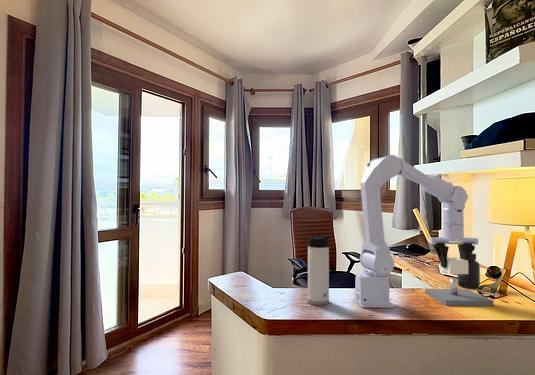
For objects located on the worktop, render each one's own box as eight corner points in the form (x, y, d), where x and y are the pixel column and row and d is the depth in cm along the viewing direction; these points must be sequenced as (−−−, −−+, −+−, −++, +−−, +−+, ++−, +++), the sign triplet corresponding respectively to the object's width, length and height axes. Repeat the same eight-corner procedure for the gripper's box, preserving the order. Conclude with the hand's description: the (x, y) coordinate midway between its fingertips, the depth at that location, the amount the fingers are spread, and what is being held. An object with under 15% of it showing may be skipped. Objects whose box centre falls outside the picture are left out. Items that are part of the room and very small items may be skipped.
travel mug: (331, 305, 92) (331, 236, 93) (308, 305, 92) (308, 236, 93) (328, 299, 98) (328, 234, 99) (307, 298, 99) (307, 234, 99)
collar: (450, 273, 97) (449, 260, 97) (440, 269, 102) (439, 257, 102) (468, 274, 97) (468, 260, 97) (457, 270, 102) (457, 257, 102)
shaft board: (445, 305, 93) (445, 283, 93) (425, 293, 105) (425, 273, 105) (493, 305, 93) (492, 283, 93) (467, 293, 105) (467, 274, 105)
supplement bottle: (484, 289, 111) (484, 254, 111) (464, 289, 111) (464, 254, 111) (472, 284, 117) (471, 251, 118) (453, 284, 118) (453, 251, 118)
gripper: (436, 224, 96) (437, 269, 96) (484, 225, 96) (485, 270, 96) (425, 223, 103) (425, 265, 103) (469, 223, 103) (470, 265, 103)
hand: (453, 267), depth 100 cm, fingers closed on collar, 6 cm apart
